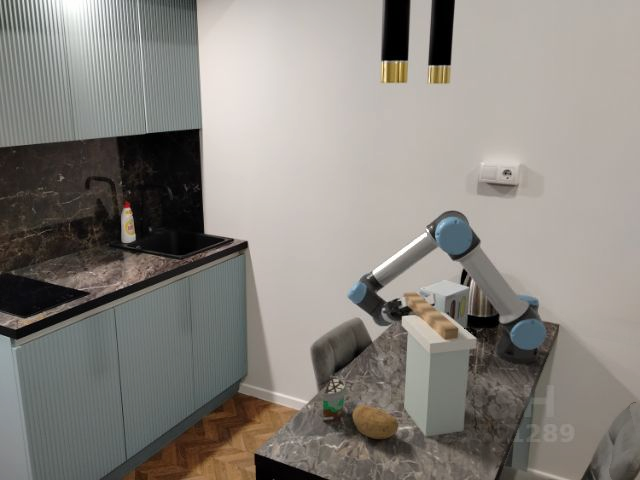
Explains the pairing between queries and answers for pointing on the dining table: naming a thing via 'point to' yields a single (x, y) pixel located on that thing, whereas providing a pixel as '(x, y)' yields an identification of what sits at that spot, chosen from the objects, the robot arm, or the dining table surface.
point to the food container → (333, 399)
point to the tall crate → (436, 376)
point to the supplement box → (449, 299)
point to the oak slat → (431, 316)
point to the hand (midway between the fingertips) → (420, 299)
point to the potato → (374, 422)
